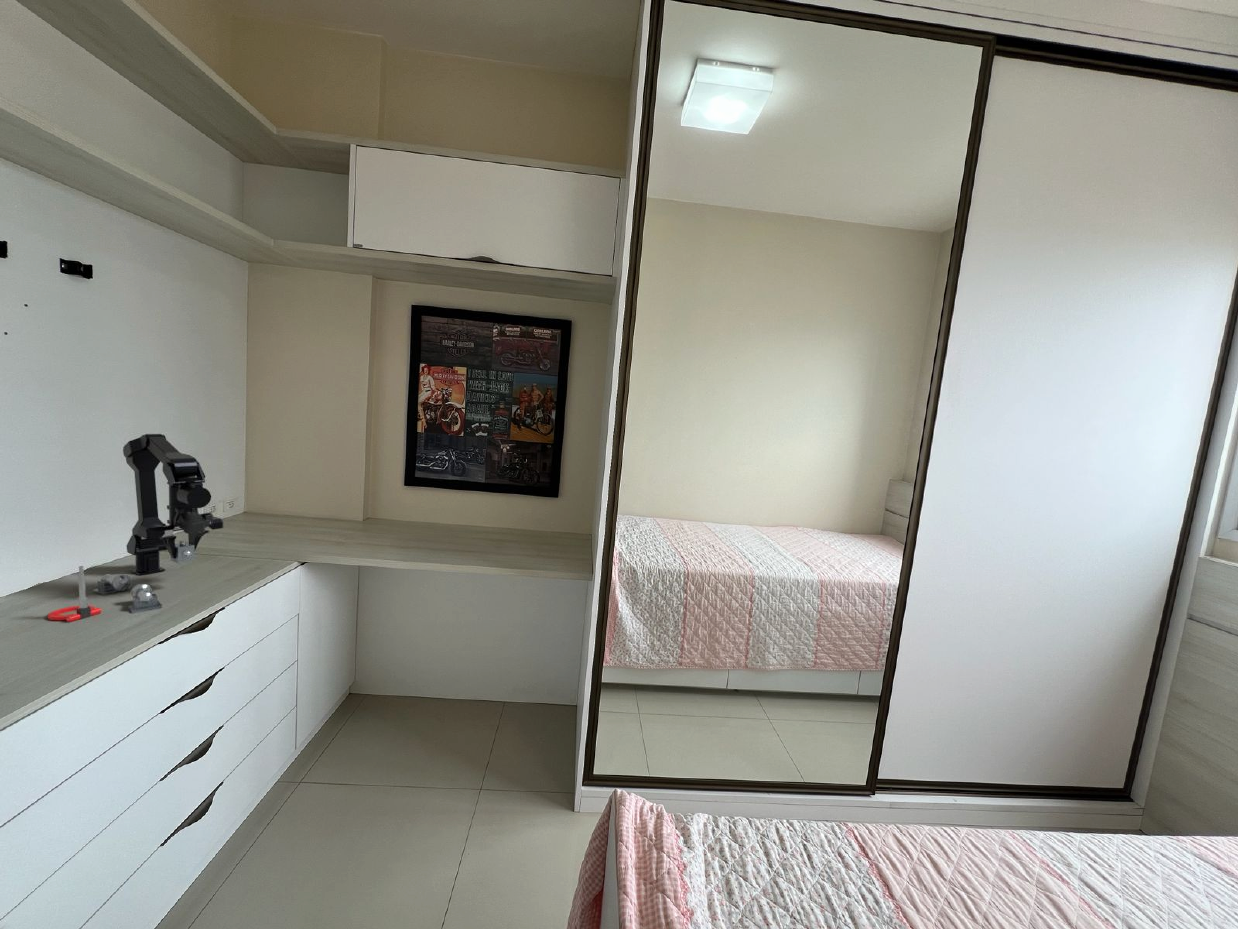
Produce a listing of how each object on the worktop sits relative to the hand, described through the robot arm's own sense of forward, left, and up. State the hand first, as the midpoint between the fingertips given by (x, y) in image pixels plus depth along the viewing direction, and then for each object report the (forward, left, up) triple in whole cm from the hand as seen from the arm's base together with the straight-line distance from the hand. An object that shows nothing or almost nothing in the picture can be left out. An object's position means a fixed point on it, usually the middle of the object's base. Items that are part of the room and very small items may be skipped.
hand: (182, 556), depth 161 cm
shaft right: (+6, -12, -9) cm, 16 cm away
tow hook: (+1, -24, -10) cm, 26 cm away
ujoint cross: (0, 0, -1) cm, 1 cm away
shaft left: (-10, -12, -9) cm, 18 cm away
